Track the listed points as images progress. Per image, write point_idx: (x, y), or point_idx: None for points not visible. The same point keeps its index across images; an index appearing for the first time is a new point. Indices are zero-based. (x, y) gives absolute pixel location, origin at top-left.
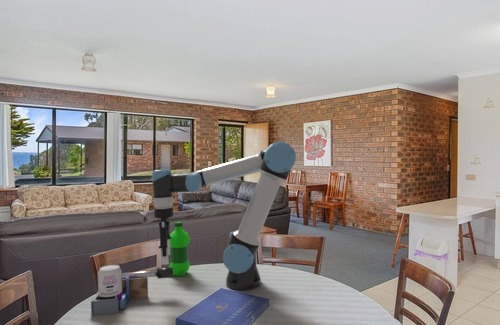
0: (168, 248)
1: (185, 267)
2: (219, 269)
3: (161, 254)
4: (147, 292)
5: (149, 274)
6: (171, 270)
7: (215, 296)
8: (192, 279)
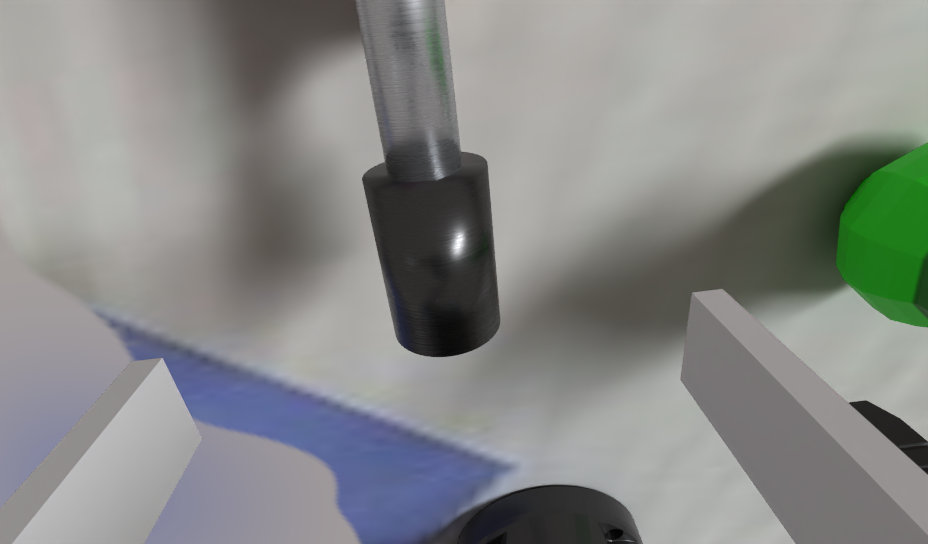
0: (745, 444)
1: (865, 295)
2: None
3: (2, 521)
4: None
5: (368, 70)
6: (405, 338)
7: (388, 451)
8: None
